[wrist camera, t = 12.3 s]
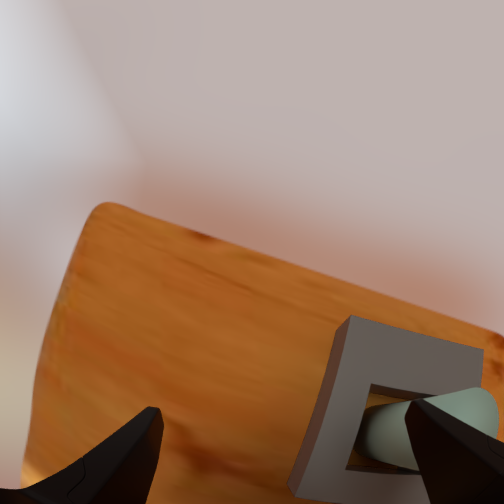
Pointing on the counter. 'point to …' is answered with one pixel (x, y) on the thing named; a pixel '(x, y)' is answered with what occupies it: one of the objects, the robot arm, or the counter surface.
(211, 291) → the counter surface
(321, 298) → the counter surface
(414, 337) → the socket block
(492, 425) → the teal peg
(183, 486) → the counter surface
